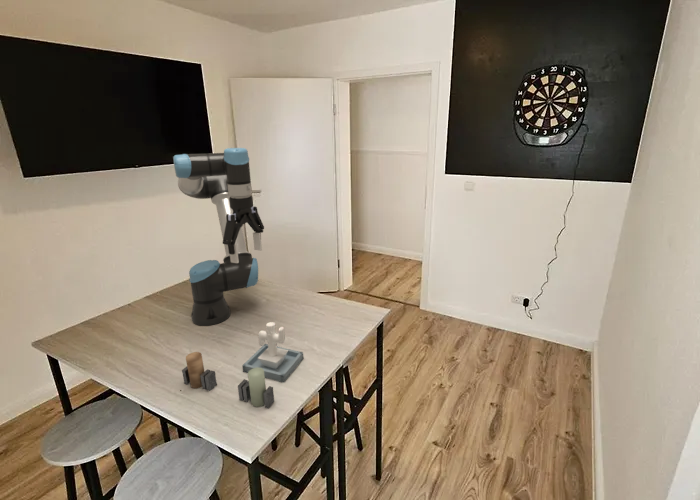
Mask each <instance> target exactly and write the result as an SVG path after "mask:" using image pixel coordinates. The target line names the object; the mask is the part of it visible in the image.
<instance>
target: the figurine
mask: <svg viewBox="0 0 700 500" xmlns="http://www.w3.org/2000/svg"><path fill="white" fill-rule="evenodd" d="M265 327H266V329H265V330H263V329H262V330H259V332H258V335H257V336H258V345H259V347H262V346H263V345H264V344H266V341H267V344H268V348H267V349H266V350H265V351H264V352H263V353H262V354H261V355H260V356H259V357H258V359H259V360H260V361H261V362H262V364H263V365H264V366H267V367H271V368H274V369H277V367H278V366H279V365H280V364H281V363H282V362H283V361H284V359H285V357H286V354H287V352H288V350H285V349H281V348H277V343H278V344H283V343H284V342H285V340H286V331H285V327H284V326H280V327H279V328H278V333H277V331H276V322H275V321H274V322H273V321H271V322H267V323H266V325H265Z"/></svg>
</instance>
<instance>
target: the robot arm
mask: <svg viewBox="0 0 700 500" xmlns="http://www.w3.org/2000/svg"><path fill="white" fill-rule="evenodd" d="M172 159H173V167H174V173H175V176H176V177H177V178H178V179H177V186H178V189H179V190H180V191H181V193H183V194H184V195H186V197H187V196H188V197H190V198H193V199H198V200H203V199H204V200H205V199H210V200H211V203H212V204H214V205H215V207H216V211H217V216H218V217H217V218H218V221H219V226H220V230H221V231H220V232H221V236H222V244H223V247H224V251H225V256H224V257H223V260H222V261H223V262H222V263H221V262H219V261H218V260H217V259H209V260H204V261H201V262H198V263H196V264H194V265H193V266H191V267H190V269H189V270H188V271H189V272H188V274H189V278H188V279H189V283H190V286H191V293H192V300H193V305H192V311H191V314H190V315H191V322H192V323H193V324H195V325H197V326H200V327H201V326H202V327H203V326H204V327H205V326H206V327H209V326H213V325H218V324H220V323H223V322H224V321H226V320H228V318H229V317H230V316H231V307H230V306H229V305H228V302H227V301H226V298H225V297H224V292H228V291H235V290H236V291H237V290H240V289H247V288H249V287H250V288H251V287H253V286H254V287H255V286H256V285H257V284H258V281H259V263H258V260H257V258H256V257H253V256H252V253H251V252H249V251H247V245H246V241H245V236H244V233H243V232H244V231H243V228H242V227H243V226H244V225H245V224H246V223H247V224H248V225H249V227H250V228H251V230H253V232H252V237H253V247H254V248H253V249H254V251H263V249H262V248H263V247H262V233H264V229H265V226H264V224H263V222H262V219H261V217H260V214H259V212H258V207H257V206H255V205H254V202H253V196H252V194H253V193H252V192H253V191H252V190H253V189H252V181H251V169H250V157H249V153H248V149H247V148H245V147H227V148H225V149H224V150H223V152H215V153H213V152H211V153H189V154H188V153H182V154H175V155H174V156H172Z"/></svg>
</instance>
